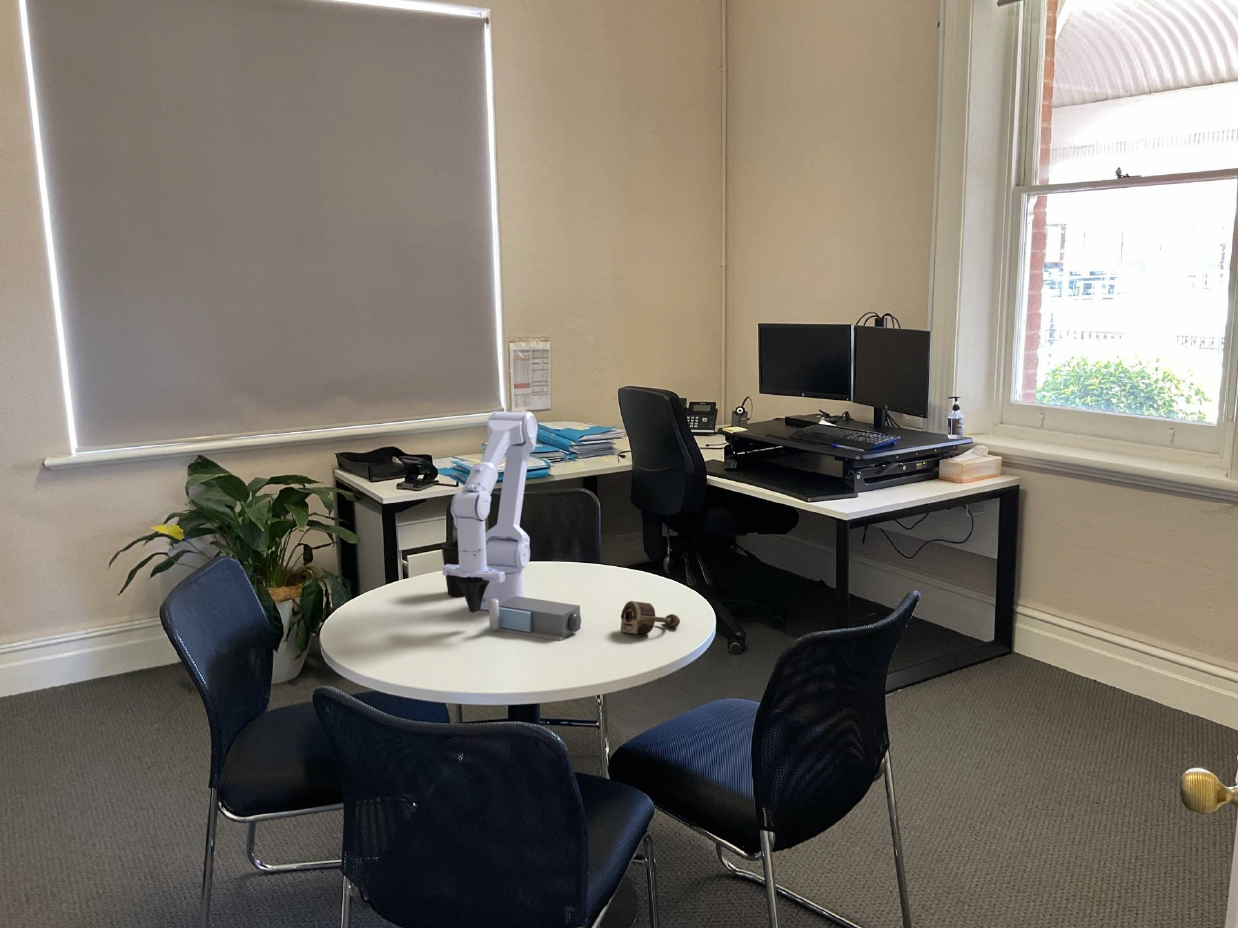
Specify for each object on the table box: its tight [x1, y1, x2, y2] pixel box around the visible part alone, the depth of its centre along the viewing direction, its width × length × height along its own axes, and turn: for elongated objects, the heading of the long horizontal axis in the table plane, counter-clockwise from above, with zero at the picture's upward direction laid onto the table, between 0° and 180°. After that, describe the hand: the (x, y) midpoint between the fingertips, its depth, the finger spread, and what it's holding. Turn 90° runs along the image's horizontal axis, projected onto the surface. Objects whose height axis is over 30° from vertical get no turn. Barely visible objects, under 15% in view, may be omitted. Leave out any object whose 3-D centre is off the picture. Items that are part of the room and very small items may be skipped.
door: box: [488, 599, 531, 632], centre depth 204 cm, size 9×3×6 cm, turn 63°
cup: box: [440, 540, 465, 598], centre depth 232 cm, size 8×8×12 cm
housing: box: [494, 596, 582, 641], centre depth 207 cm, size 17×8×5 cm, turn 63°
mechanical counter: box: [620, 600, 681, 635], centre depth 205 cm, size 7×13×10 cm
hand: (474, 611), depth 207 cm, fingers closed
